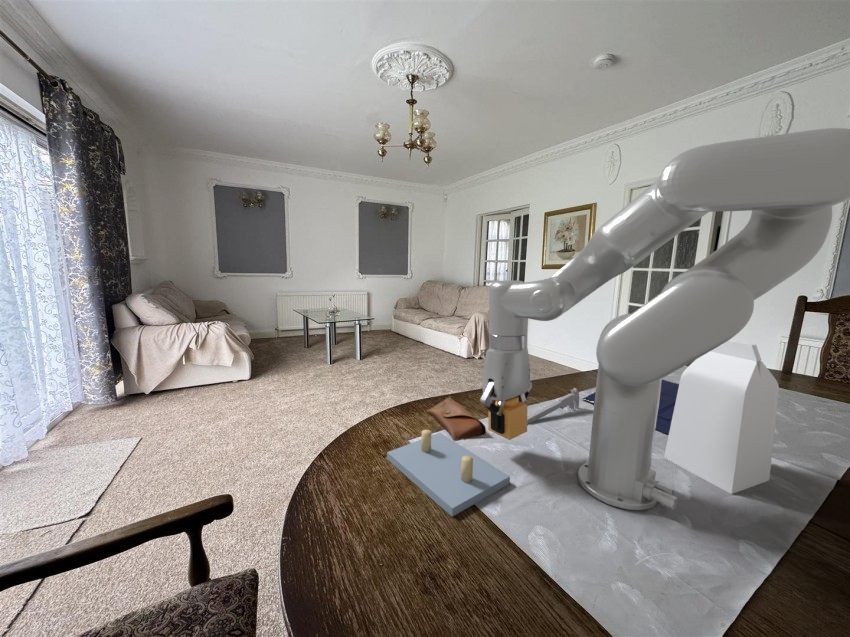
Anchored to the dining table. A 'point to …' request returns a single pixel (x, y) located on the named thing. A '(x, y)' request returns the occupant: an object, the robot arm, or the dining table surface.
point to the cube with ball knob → (512, 418)
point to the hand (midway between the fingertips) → (507, 425)
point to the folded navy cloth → (661, 405)
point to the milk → (725, 418)
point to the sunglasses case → (457, 420)
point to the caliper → (557, 405)
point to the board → (447, 472)
